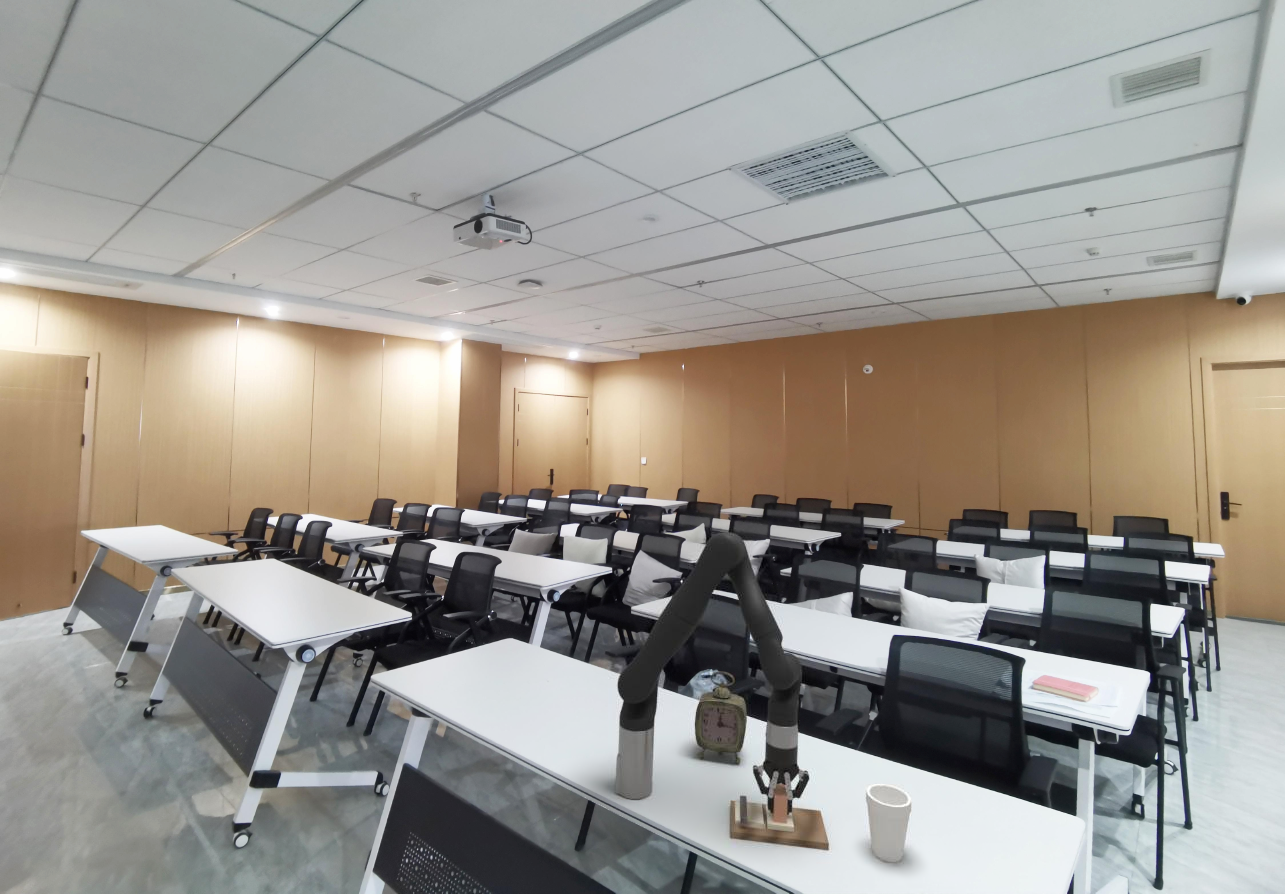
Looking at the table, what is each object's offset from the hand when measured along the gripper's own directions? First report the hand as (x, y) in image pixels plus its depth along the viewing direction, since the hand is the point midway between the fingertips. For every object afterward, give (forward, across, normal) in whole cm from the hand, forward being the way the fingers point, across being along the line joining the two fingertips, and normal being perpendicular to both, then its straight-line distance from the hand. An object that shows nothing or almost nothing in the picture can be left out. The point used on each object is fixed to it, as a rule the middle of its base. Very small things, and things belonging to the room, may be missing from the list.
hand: (779, 811), depth 146 cm
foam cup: (+4, +24, -5) cm, 24 cm away
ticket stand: (+4, 0, 0) cm, 4 cm away
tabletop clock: (+4, -14, +32) cm, 35 cm away
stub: (+2, 0, 0) cm, 2 cm away
